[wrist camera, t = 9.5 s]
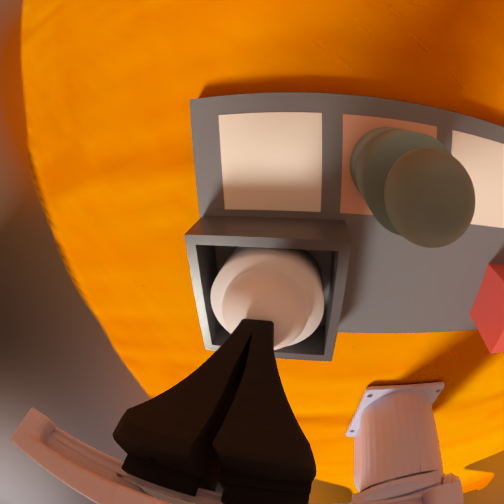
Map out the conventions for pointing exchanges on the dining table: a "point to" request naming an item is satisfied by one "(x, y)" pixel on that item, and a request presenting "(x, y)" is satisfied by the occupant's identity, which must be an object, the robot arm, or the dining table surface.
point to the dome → (270, 292)
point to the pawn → (413, 186)
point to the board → (337, 211)
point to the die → (491, 308)
